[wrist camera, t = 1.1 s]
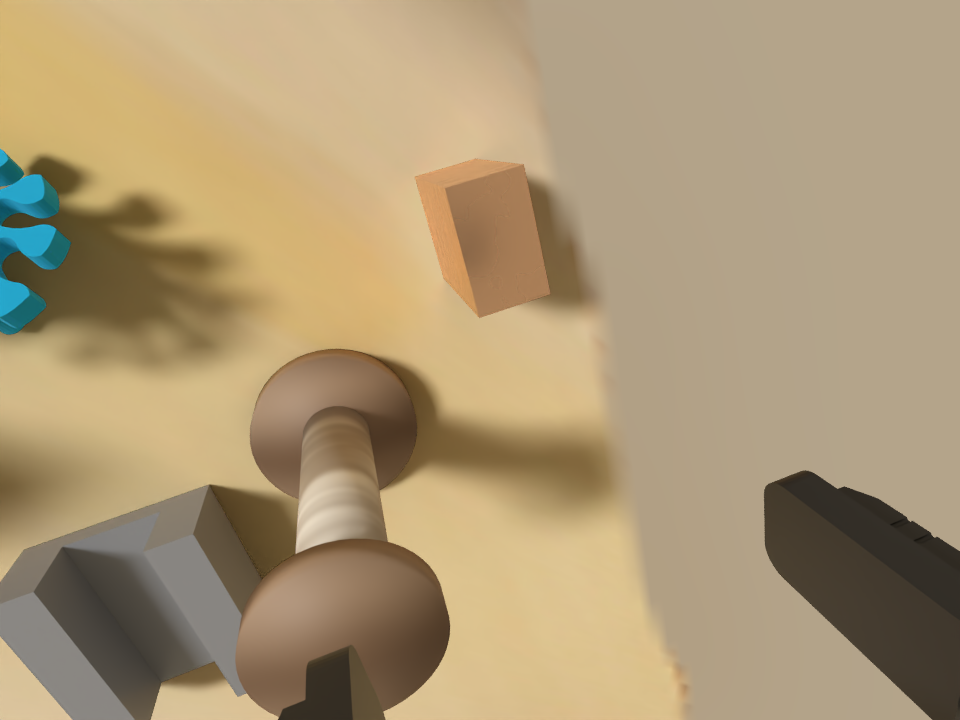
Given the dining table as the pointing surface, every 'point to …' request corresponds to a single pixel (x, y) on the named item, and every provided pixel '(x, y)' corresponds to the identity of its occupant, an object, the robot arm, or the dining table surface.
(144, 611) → the grooved channel block
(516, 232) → the copper tab
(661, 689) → the dining table surface
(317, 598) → the bobbin
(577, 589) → the dining table surface
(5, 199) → the gear
